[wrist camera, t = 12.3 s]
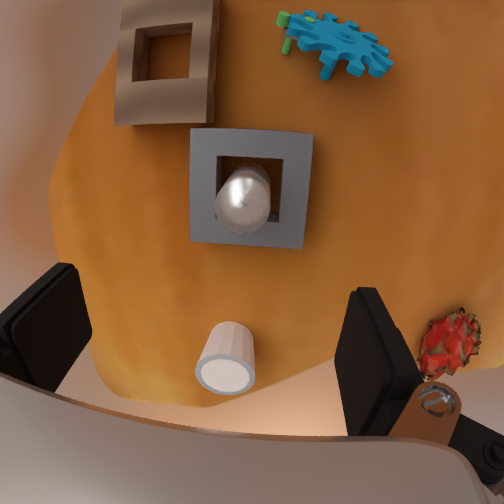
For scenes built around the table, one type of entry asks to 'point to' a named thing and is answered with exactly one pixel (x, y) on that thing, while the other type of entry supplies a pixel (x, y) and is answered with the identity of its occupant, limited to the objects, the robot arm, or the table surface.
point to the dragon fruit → (449, 344)
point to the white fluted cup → (227, 360)
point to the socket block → (250, 145)
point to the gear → (334, 43)
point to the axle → (244, 199)
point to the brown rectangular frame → (166, 90)
